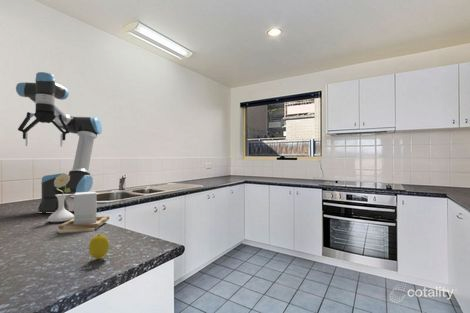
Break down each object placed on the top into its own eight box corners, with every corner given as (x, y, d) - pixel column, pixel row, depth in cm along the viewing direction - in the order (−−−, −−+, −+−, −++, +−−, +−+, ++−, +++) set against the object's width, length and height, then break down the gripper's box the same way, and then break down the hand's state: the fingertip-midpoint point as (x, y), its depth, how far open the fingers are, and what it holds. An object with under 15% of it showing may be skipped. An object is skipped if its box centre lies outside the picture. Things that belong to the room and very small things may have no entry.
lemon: (94, 256, 78) (94, 231, 78) (111, 255, 79) (111, 231, 79) (85, 263, 73) (85, 237, 73) (104, 262, 73) (104, 236, 73)
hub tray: (77, 221, 123) (77, 216, 123) (110, 219, 126) (110, 215, 126) (55, 232, 104) (55, 227, 104) (95, 230, 107) (95, 225, 107)
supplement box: (96, 220, 121) (96, 191, 121) (96, 224, 113) (96, 193, 114) (74, 223, 116) (75, 192, 117) (73, 227, 109) (73, 194, 109)
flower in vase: (42, 222, 122) (43, 173, 122) (67, 217, 132) (67, 172, 132) (56, 225, 116) (56, 174, 116) (80, 220, 126) (80, 172, 126)
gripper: (9, 99, 110) (9, 145, 110) (74, 105, 123) (74, 146, 123) (14, 102, 117) (13, 146, 116) (75, 108, 129) (75, 147, 129)
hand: (44, 146), depth 119 cm, fingers open, 13 cm apart
